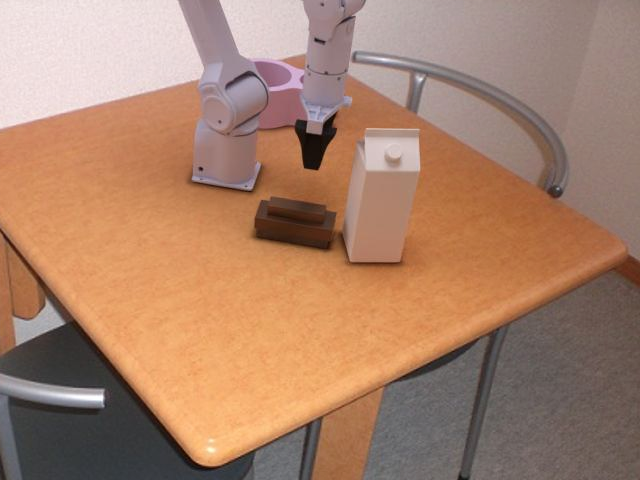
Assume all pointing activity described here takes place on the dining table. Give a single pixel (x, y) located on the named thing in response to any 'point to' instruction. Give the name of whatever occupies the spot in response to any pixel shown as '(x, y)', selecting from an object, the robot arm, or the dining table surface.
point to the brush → (295, 222)
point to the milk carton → (381, 194)
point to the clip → (281, 93)
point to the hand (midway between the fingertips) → (315, 154)
